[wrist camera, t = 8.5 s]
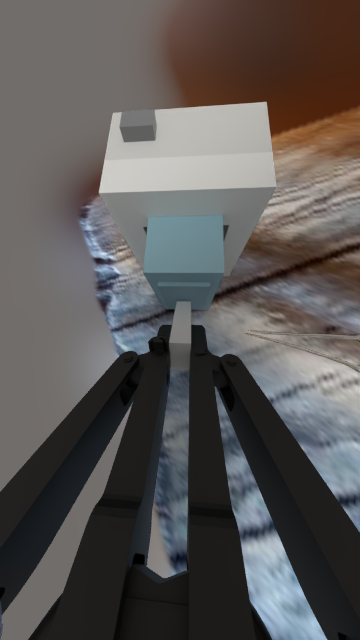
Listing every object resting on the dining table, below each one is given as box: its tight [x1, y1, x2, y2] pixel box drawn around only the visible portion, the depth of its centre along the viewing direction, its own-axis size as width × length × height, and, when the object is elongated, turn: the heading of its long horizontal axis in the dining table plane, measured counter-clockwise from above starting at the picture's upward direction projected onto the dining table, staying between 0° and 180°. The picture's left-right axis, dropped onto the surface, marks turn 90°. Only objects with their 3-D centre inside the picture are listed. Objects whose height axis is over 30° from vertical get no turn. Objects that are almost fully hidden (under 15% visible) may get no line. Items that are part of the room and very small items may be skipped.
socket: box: [99, 102, 276, 276], centre depth 17 cm, size 12×8×13 cm, turn 88°
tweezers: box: [244, 330, 360, 372], centre depth 20 cm, size 18×5×2 cm, turn 78°
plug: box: [143, 215, 224, 310], centre depth 17 cm, size 6×8×10 cm
